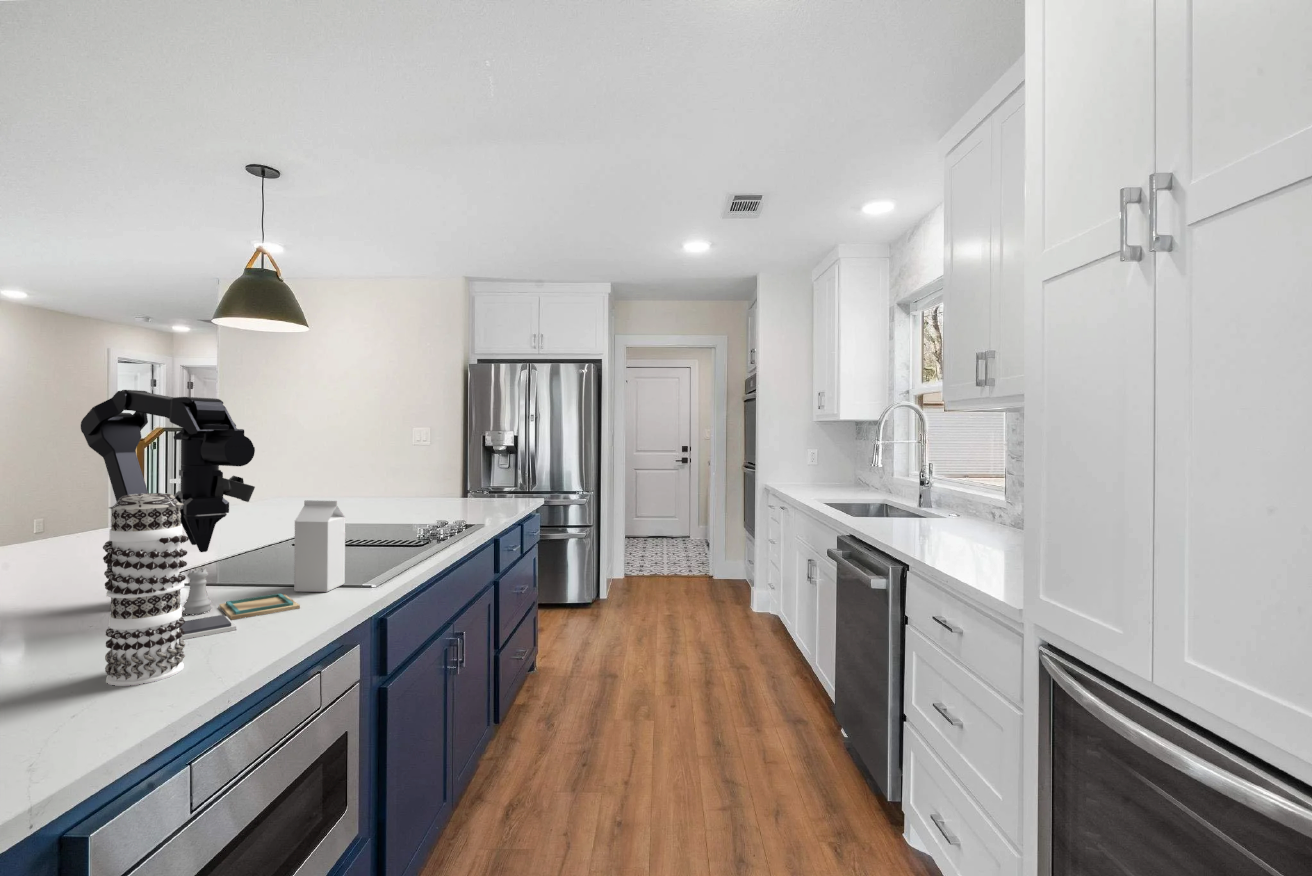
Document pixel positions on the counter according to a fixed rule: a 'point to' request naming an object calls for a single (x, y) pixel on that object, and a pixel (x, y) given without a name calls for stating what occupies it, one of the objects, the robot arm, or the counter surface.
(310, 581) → the milk carton
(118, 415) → the robot arm
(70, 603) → the counter surface
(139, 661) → the decorative candle
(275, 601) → the print board
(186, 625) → the ink pad
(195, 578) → the rook chess piece
